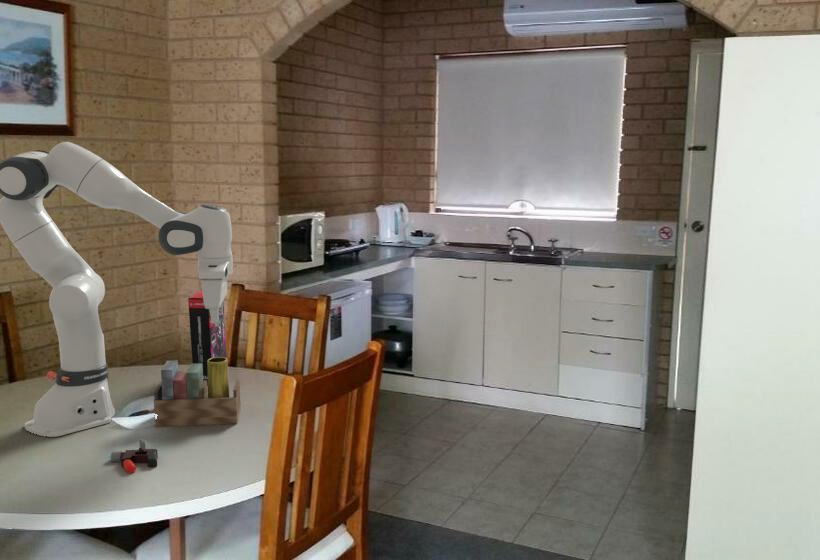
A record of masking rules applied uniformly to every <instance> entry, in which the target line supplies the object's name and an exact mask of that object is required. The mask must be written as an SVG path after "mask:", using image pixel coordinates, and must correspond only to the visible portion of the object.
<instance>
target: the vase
mask: <svg viewBox="0 0 820 560" xmlns="http://www.w3.org/2000/svg"><path fill="white" fill-rule="evenodd" d="M228 363H229V362H228V357H227V358H224V357H214V358H210V359H208V360H207V370H208V383H207V397H208V398H230V385H229V383H230V382H229V366H228Z"/></svg>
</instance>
